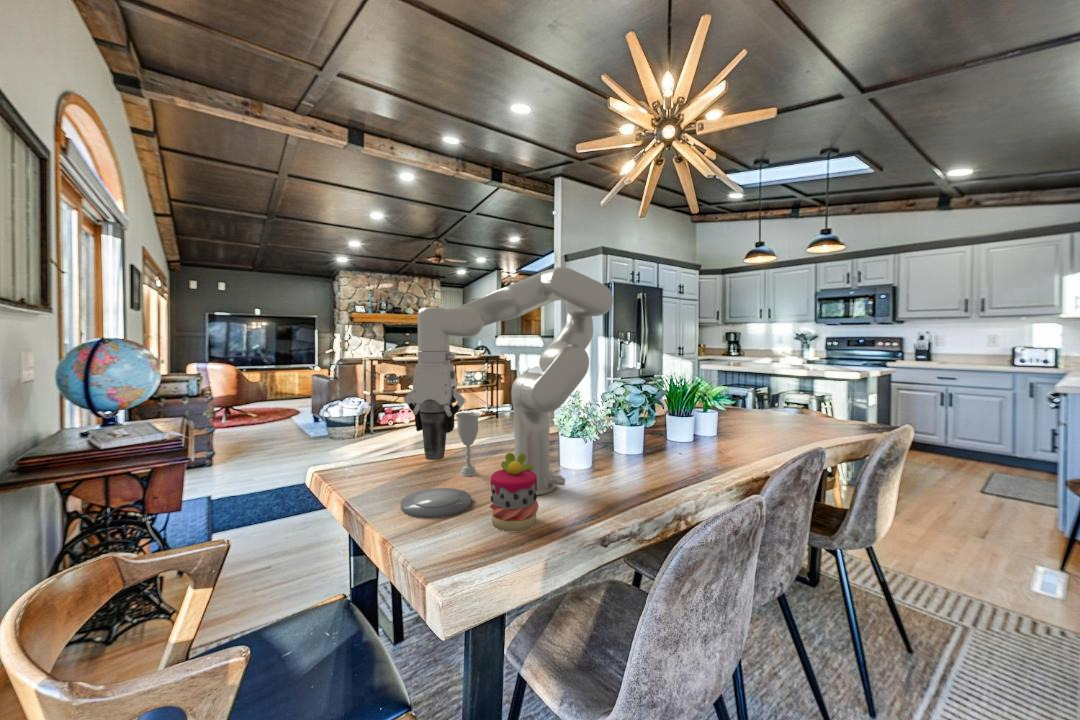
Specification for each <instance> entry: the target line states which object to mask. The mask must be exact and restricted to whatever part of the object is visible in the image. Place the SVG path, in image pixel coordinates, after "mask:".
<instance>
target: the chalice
mask: <svg viewBox="0 0 1080 720" xmlns="http://www.w3.org/2000/svg"><path fill="white" fill-rule="evenodd" d="M480 415H481V414H480V413H477V412H460V413H456V414H455V416H456V419H457V434H458V436H459V438H460V440H461V442H462V444H463V445H464V446H466V448H465V449H466V450H465V453H466V456H465V460H466V464H465V465H463V467H462V468H461V472H460V473H459V475H460V476H462V477H473V476H476V475H477V474H478V472H477V471H476V469H475V466H474V465H472V463H471V459H472V457H471V453H472V451H471V445H473V444H474V442H475V440H476V438H477V435H478V433H479V417H480Z"/></svg>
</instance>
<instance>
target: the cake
mask: <svg viewBox="0 0 1080 720" xmlns="http://www.w3.org/2000/svg"><path fill="white" fill-rule="evenodd" d="M504 457H505V458H504V459H505V460H503V461H501V464H500V465H501V468H502V469H499V470H496V471H495V472H493V473H492V474H491V476H490V486H491V487H490V491H491V496H490V501H491V503H492V504H491V503H490V505H489V508H490V509H492V510H493V511H492V513H491V523H492V527H493V528H494V529H496V528H497V529H496V530H498V529H500V530H499V531H501V530H504V531H503V532H506V531H519V532H522V531H521V530H524V531H526V530H525V529H528V530H530V529H532V528H533V527H535V526H536V524H537V513H538V509H539V506H540V505H539V503H538V501H537V498H538V495H537V494H536V491H537V476H536V474H535V473H534V472H532V471H530V470H531V469H532V468H533V467H532V465H530V464H526V465H523V463H524V461H525V460H526V456H525V454H524V453H521V454H520V455H519V456H518V458H517V461H515V453H513V452H508V453H506V454H505V456H504ZM535 523H536V524H535ZM534 525H535V526H534ZM532 526H533V527H532ZM531 527H532V528H531ZM529 528H530V529H529Z"/></svg>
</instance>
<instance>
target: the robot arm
mask: <svg viewBox="0 0 1080 720" xmlns="http://www.w3.org/2000/svg"><path fill="white" fill-rule="evenodd" d="M556 301H564V307H565V312H566V322H565V324H564V326H563V328H562V329H561V331H560V332H558V334H557V335H556V337H554V339H553V340H552V341H551V342H550V343H549V344H548V346H546V348H545V349H544V350H543V352H542V353H541V355H540V357H539V361H538V362H539V363H538V364H539V367H540V370H541V371H542V372H543V373H539V372H533V371H531V372H530V371H529V372H525V373H522V374H519V375H518V376H517V377H516V378H515V380H514V381H513V383H512V386H511V393H510V394H511V395H510V396H511V402H512V410H513V418H514V419H513V420H514V421H513V422H514V424H513V425H514V426H513V427H514V429H513V430H514V433H513V434H514V441H513V442H514V455H515V461H517V458H518V456H519V455H520V454H521V453H524V454H525V456H526V460H525V461H524V463H523V465H526V464H530V465H532V467H533V468H532V469H531V470H530V471H532V472H534V473H535V474H536V476H537V491H536V494H537V496H543V495H546V494H549V493H552V492H553V491H554V490H555V488H556V485H558V486H565V485H566V478H565V477H563V476H562V475H554V474H553V469H550V468H551V466H550V464H551V463H550V430H551V429H550V426H551V425H550V417H549V413H552V412H555V411H556V410H558V409H559V408H560V407H561V406H562V405H563V404H564V403H565V402H566V401H567V399H568V398H569V397H570V396H571V394H572V393H573V392H574V391H575V389H576V388H577V387H578V386H579V384H580V383H581V382H582V381H583V379H584V378H585V377H586V374H587V373H588V370H589V366H590V357H589V355H588V353H587V351H586V349H587V347H589V345H590V343H591V341H592V339H593V337H594V336H593V335H594V319H593V317H598V316H599V317H601V316H604V315H605V314H607V313H608V312H609V311H610V310H611V308H612V306H613V305H614V296H613V294H612V291H611V289H609V287H608V286H607V285H605V284H604V283H602V282H600V281H598V280H596V279H593V278H592V277H589V276H587V275H585V274H583V273H581V272H579V271H576V270H574V269H571V268H570V267H565V266H560V267H559V266H558V267H555V268H550V269H546V270H543V271H541V272H537V273H536V274H533V275H530V276H528V277H526V278H523V279H521V280H518V281H517V282H514V283H512V284H509V285H507V286H504V287H502V288H499V289H498V290H495V291H493V292H491V293H489V294H487V295H484V296H481V297H479V298H477V299H474V300H472V301H470V302H467V303H465V304H462V305H459V306H458V307H455V308H445V307H434V306H432V307H430V306H429V307H421V308H419V309H418V312H417V364H416V363H415V367H414V373H413V377H412V378H413V379H412V380H413V381H412V389H411V391H409V392H408V393H407V394H406V395H405V396H404V397H403V401H404V402H405V404H407V405H408V408H409V409H410V410H411V411H412V414H413V415H414V417H415V419H414V420H415V421H414V423H415V425H414V426H415V428H416V430H415V431H417V432H420V431H422V421H421V418H420V413H419V411H420V406H421V404H422V403H423V402H424V401H425V400H428V399H432V400H435V401H437V402H438V403H439V404H440V405H442V406H443V407H444V409H445V412H446V414H447V416H446V417H445V432H446V434H449V433H451V432H453V430H454V429H455V416H456V414H458V412H459V410H460V409H461V408H462V407H463V405H464V404H466V403H467V402H466V401H467V399H466V398H465V397H464V396H463V395H462V394H460V392H459V391H458V388H457V387H458V386H457V384H458V383H457V378H456V371H455V367H454V364H453V363H451V361H452V360H455V358H456V355H455V354H454V353H451V349H450V345H451V344H450V342H451V341H450V337H453V338H462V339H463V338H464V339H468V338H473V337H475V336H477V335H479V333H481V331H482V330H483V328H484V327H485V326H488V325H492V324H494V323H499V322H503V321H510V320H512V319H513V320H514V319H516V318H518V317H522V316H523V315H526V314H528V313H530V312H533V311H534V310H537V309H539V308H542V307H544V306H546V305H548V304H551V303H554V302H556ZM456 402H457V403H456ZM454 403H456V404H455V405H454Z"/></svg>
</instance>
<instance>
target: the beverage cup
mask: <svg viewBox="0 0 1080 720" xmlns="http://www.w3.org/2000/svg"><path fill="white" fill-rule="evenodd" d="M419 413H420V418H421V421H422V430H421V431H422V438H423V439H422V440H423V450H424V455H425V457H424V458H425V460H427V461H440V460H442V459H444V458H445V452H446V443H447V433H446V432H445V417H446V416H447V414H446V412H445V409H444V407H443V406H442V405H440V404H439V403H438V402H437V401H435V400H432V399H428V400H425V401H424V402H423V403H422V404H421V406H420V411H419Z"/></svg>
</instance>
